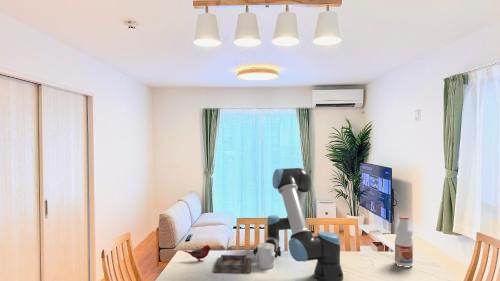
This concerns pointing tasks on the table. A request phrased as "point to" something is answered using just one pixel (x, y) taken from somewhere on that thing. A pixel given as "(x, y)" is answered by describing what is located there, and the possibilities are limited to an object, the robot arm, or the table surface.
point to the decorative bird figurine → (200, 252)
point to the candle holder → (265, 255)
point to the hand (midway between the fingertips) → (264, 257)
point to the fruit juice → (403, 243)
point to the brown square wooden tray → (232, 264)
